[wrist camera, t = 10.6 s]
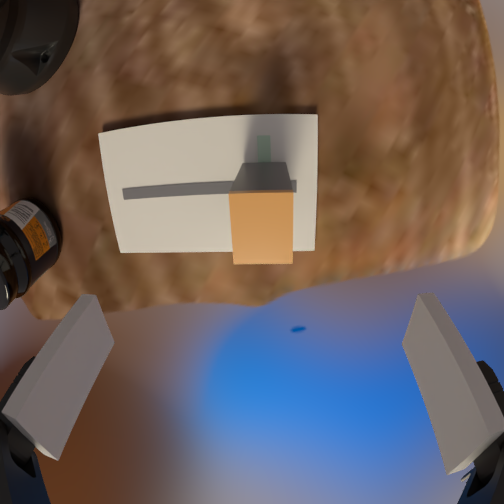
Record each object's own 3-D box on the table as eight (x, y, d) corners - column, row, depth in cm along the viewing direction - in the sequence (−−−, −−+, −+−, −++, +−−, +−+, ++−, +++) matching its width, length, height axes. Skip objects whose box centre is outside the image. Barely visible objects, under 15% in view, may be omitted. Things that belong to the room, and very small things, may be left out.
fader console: (102, 132, 28) (97, 133, 27) (316, 114, 26) (317, 114, 25) (123, 249, 34) (120, 253, 33) (313, 246, 33) (314, 251, 32)
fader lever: (242, 162, 28) (228, 193, 19) (285, 162, 27) (293, 192, 18) (245, 213, 30) (233, 264, 21) (286, 212, 30) (292, 263, 21)
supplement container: (43, 182, 31) (-23, 220, 20) (77, 254, 35) (25, 308, 24) (4, 210, 33) (-51, 248, 22) (34, 271, 37) (-12, 318, 27)
